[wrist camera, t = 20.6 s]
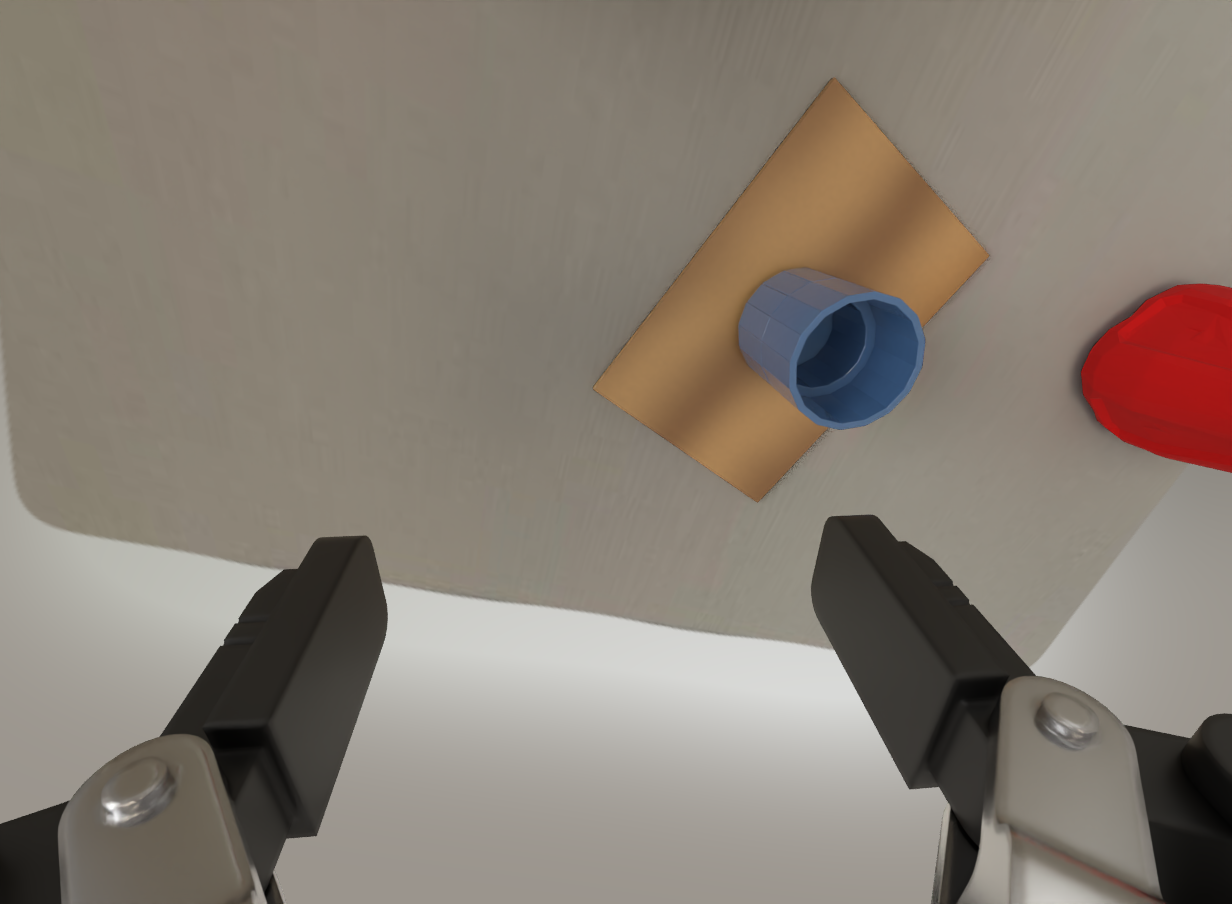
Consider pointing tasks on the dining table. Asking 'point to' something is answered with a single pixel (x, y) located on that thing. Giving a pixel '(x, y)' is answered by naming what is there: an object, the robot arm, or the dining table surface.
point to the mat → (763, 247)
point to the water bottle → (1169, 376)
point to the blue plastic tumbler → (832, 346)
